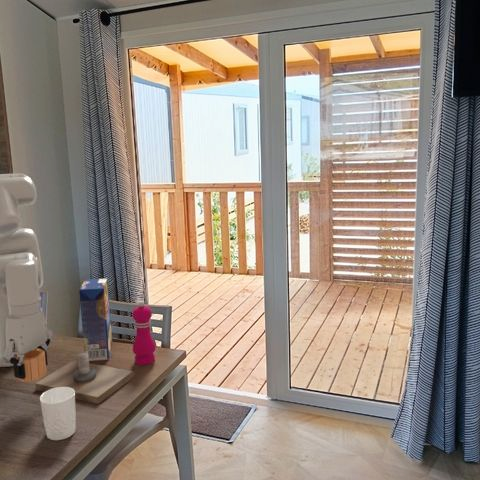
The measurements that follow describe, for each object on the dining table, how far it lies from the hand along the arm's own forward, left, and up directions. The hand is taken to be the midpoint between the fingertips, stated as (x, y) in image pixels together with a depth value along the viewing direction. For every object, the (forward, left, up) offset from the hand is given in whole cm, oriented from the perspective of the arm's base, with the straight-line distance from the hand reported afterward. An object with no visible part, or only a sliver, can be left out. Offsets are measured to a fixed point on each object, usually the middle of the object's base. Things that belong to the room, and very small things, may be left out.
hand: (31, 370), depth 129 cm
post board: (+5, +15, -10) cm, 18 cm away
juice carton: (-5, +34, -10) cm, 36 cm away
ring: (0, 0, -1) cm, 1 cm away
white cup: (+16, -7, -10) cm, 20 cm away
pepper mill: (+13, +34, -10) cm, 37 cm away
